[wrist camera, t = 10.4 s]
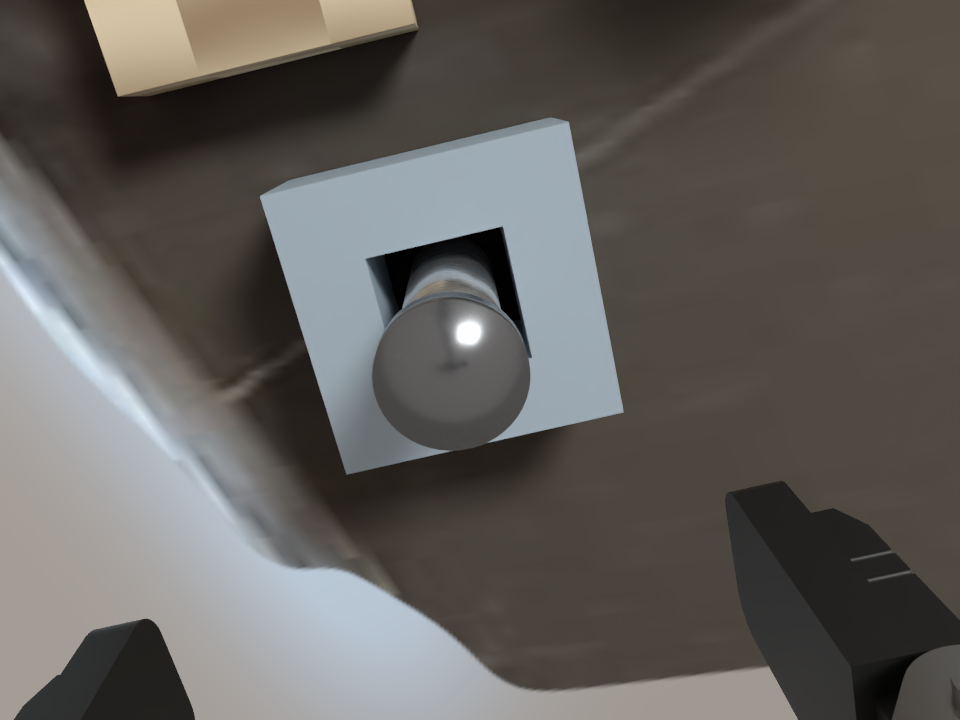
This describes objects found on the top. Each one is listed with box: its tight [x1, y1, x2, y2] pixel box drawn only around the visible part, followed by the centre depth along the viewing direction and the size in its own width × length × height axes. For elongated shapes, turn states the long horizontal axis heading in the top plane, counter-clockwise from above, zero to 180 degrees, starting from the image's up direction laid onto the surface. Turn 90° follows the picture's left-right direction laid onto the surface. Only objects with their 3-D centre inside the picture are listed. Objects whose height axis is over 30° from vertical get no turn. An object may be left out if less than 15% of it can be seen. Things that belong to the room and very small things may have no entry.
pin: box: [372, 237, 530, 451], centre depth 27 cm, size 4×4×12 cm
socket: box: [260, 117, 623, 475], centre depth 30 cm, size 10×10×5 cm
